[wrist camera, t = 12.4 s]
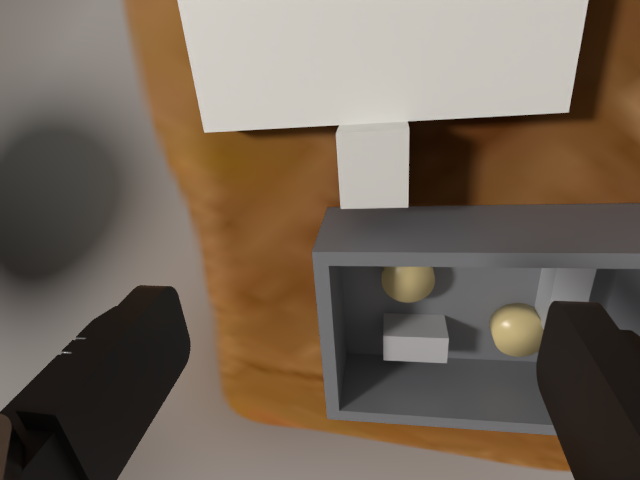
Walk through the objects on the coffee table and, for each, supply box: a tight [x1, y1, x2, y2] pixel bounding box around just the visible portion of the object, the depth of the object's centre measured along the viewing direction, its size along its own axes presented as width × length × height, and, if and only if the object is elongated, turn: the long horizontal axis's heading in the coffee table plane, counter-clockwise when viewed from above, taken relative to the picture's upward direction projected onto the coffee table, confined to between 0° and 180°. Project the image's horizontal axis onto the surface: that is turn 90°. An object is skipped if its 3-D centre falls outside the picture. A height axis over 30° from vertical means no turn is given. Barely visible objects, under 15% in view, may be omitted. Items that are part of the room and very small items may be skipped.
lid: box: [178, 0, 588, 209], centre depth 20 cm, size 17×19×4 cm
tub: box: [312, 203, 640, 435], centre depth 25 cm, size 12×18×6 cm, turn 94°
